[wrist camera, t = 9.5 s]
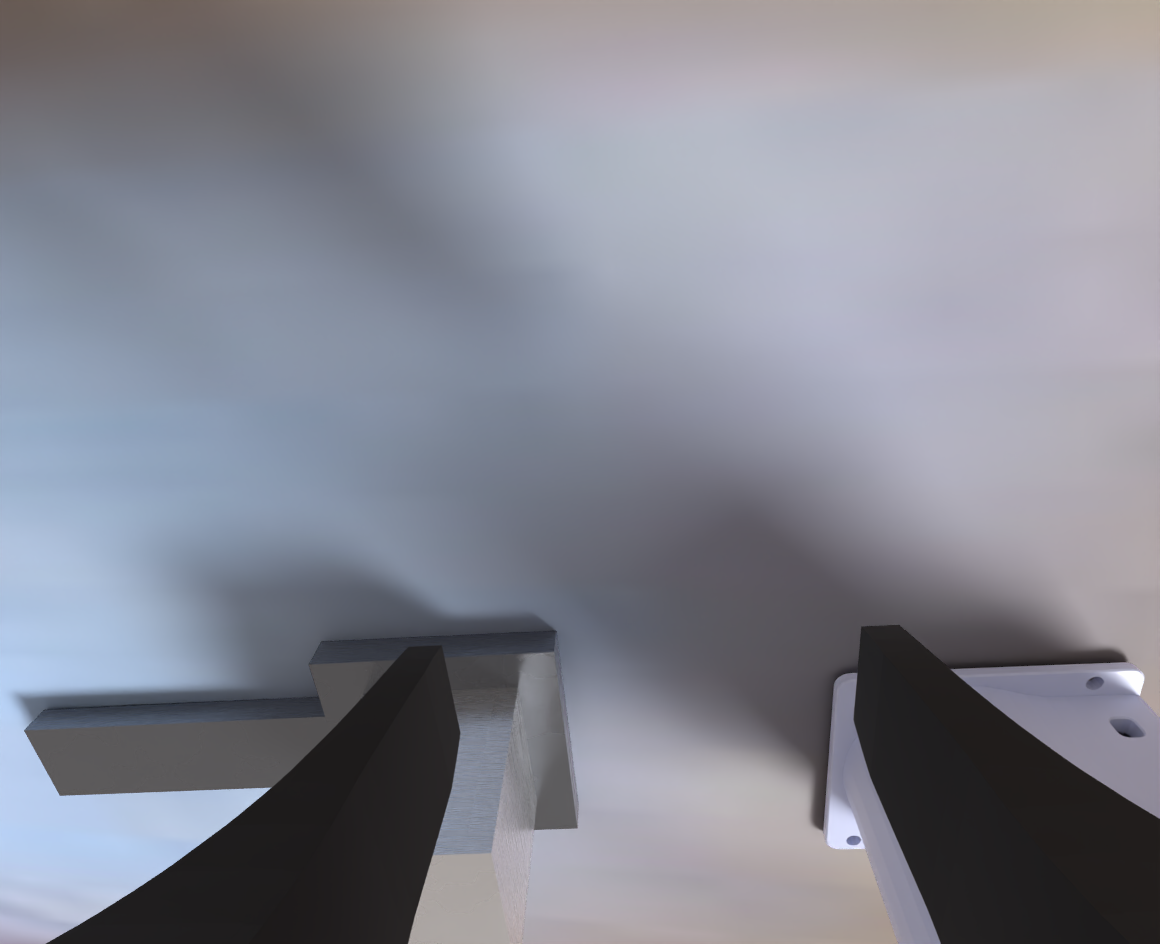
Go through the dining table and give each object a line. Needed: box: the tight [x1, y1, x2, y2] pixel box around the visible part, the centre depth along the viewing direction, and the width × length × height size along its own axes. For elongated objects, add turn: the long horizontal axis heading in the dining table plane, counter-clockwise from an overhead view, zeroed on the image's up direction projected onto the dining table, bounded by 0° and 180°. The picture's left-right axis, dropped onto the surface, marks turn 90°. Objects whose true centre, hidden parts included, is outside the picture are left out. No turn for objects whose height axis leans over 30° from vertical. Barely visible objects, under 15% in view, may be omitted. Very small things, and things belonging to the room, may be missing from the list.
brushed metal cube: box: [361, 687, 537, 944], centre depth 22 cm, size 5×5×6 cm
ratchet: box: [24, 631, 579, 830], centre depth 24 cm, size 19×8×4 cm, turn 95°
